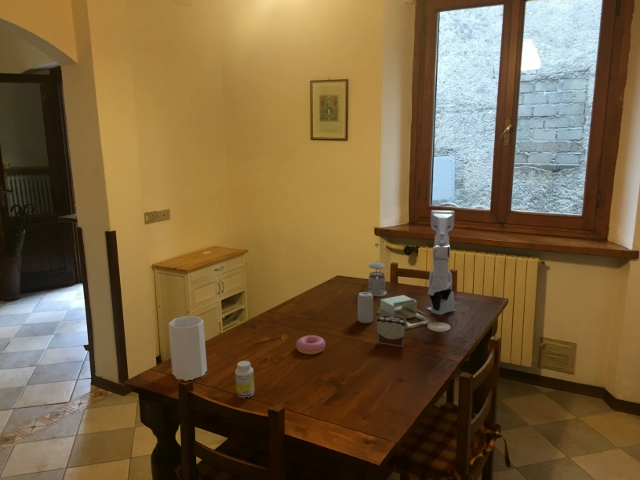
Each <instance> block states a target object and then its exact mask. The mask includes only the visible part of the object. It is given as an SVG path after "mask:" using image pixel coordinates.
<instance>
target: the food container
mask: <svg viewBox="0 0 640 480" xmlns="http://www.w3.org/2000/svg"><path fill="white" fill-rule="evenodd" d="M407 322H408V321H407V319H405V318H404V317H402V316H400V315H395V314H384V315H380V314H379V315H377V316H376V318H375V319H374V323H376V333H377V342H378V344H383V345H390V346H397V347H401V348H403V347H404V341H405V334H406V333H405V332H406V329H405V327H407Z"/></svg>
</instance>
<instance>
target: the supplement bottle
mask: <svg viewBox="0 0 640 480" xmlns="http://www.w3.org/2000/svg"><path fill="white" fill-rule="evenodd" d="M236 366H237V367H236V369H235V372H234V375H235V388H236V389H235V391H236V392H235V393H236V396H237V397H238V398H241V397H242V398H241V399H246V398H245V397H248V398H251V397H252V396H254V394H255V392H256V391H255V375H254V374H255V372H254V368H253V367H252V365H251V362H250V361H248V360H242V361H239V362H237V363H236ZM250 396H251V397H250Z"/></svg>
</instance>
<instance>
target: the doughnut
mask: <svg viewBox="0 0 640 480" xmlns="http://www.w3.org/2000/svg"><path fill="white" fill-rule="evenodd" d="M326 345H327V344H326V341H325V339H324V338H323V337H321V336H319V335H310V334H309V335H305V336H302V337H300V338H299V339H298V340H297V341H296V344H295V347H296V349H297V351H298V352H299V353H301V354H304V355H316V354H319V353H322V352H323V351H324V350H325V348H326Z"/></svg>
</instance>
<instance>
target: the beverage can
mask: <svg viewBox="0 0 640 480" xmlns="http://www.w3.org/2000/svg"><path fill="white" fill-rule="evenodd" d="M357 321H358V322H359V323H360V324H370V323H371V322H373V321H374V296H372V293H369V292H368V291H363V292H358V296H357Z"/></svg>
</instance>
